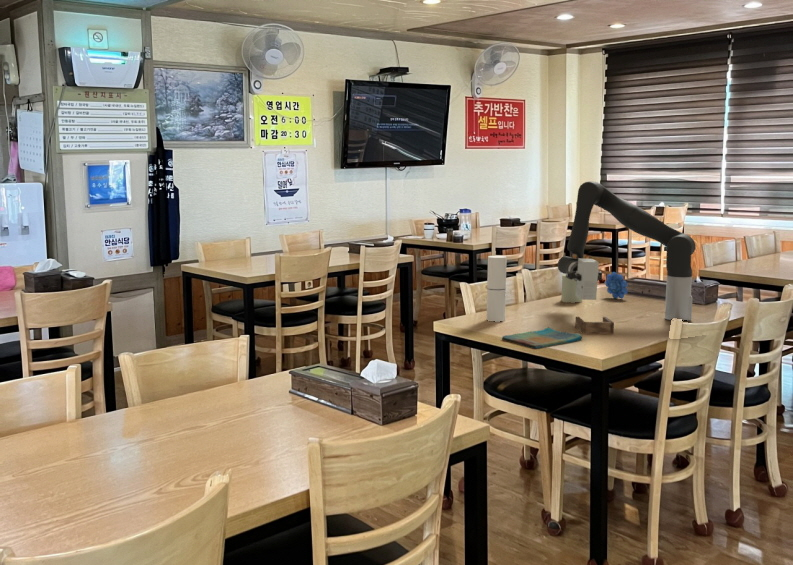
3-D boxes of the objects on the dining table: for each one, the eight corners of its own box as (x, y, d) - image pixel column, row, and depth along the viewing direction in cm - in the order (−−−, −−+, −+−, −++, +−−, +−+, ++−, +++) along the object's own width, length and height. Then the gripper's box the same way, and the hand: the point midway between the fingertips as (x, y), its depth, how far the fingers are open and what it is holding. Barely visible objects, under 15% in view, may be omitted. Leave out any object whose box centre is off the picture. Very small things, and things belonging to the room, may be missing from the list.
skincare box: (575, 296, 308) (576, 258, 306) (590, 295, 309) (592, 258, 306) (582, 300, 300) (583, 261, 298) (597, 299, 301) (599, 261, 298)
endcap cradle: (605, 327, 298) (606, 316, 297) (613, 333, 287) (614, 322, 286) (575, 327, 298) (575, 316, 297) (581, 333, 287) (582, 322, 286)
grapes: (599, 297, 362) (600, 271, 360) (607, 296, 367) (608, 270, 365) (621, 301, 354) (623, 274, 352) (629, 299, 358) (631, 273, 356)
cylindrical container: (490, 322, 306) (492, 258, 302) (483, 319, 312) (485, 255, 309) (507, 321, 307) (509, 257, 304) (500, 318, 314) (502, 255, 310)
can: (557, 299, 356) (558, 273, 354) (575, 298, 359) (576, 272, 357) (567, 303, 348) (568, 276, 346) (586, 302, 350) (587, 275, 348)
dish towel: (583, 341, 276) (584, 334, 276) (536, 351, 263) (536, 343, 262) (547, 333, 290) (547, 326, 290) (500, 341, 276) (500, 334, 276)
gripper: (561, 262, 317) (570, 268, 300) (597, 262, 317) (608, 268, 300) (560, 280, 318) (569, 287, 301) (596, 280, 318) (607, 288, 301)
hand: (588, 278), depth 301 cm, fingers closed on skincare box, 6 cm apart
